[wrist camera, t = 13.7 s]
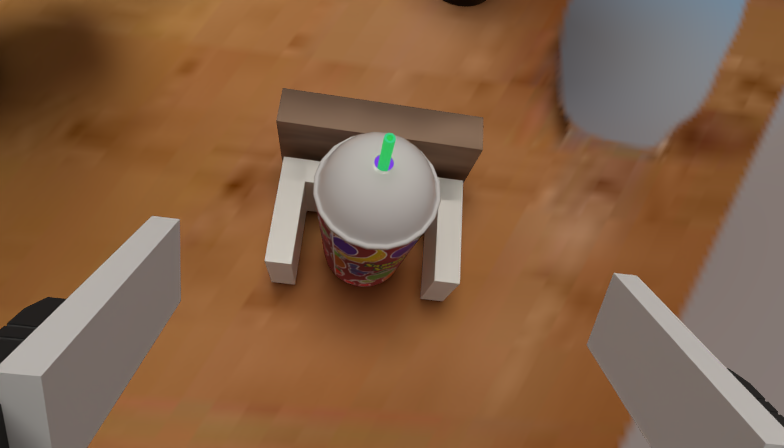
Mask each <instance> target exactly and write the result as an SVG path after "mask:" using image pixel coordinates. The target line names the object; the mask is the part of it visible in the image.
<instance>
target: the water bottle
mask: <svg viewBox="0 0 784 448" xmlns="http://www.w3.org/2000/svg"><path fill="white" fill-rule="evenodd" d="M444 1H446V2H448V3H451V4H454V5H458V6H473V5H477V4H480V3H482V2H484V1H486V0H444Z"/></svg>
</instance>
